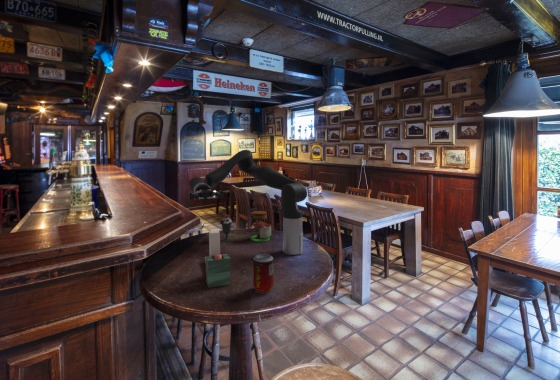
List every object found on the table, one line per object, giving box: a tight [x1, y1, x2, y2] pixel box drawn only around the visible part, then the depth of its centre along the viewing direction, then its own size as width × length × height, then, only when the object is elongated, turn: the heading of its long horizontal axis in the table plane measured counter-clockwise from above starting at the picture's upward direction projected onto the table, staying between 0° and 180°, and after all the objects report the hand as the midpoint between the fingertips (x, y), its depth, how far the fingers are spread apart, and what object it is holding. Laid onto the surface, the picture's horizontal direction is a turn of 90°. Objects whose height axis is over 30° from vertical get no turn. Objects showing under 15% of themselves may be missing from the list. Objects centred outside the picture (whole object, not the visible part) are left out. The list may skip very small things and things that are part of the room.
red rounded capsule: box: [214, 253, 222, 260], centre depth 109 cm, size 3×3×5 cm
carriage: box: [208, 229, 221, 256], centre depth 115 cm, size 6×5×17 cm
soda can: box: [252, 253, 274, 294], centre depth 105 cm, size 7×7×12 cm
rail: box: [204, 253, 232, 289], centre depth 119 cm, size 26×8×10 cm, turn 22°
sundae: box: [219, 212, 233, 243], centre depth 162 cm, size 7×7×15 cm
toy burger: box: [250, 210, 272, 243], centre depth 164 cm, size 12×13×15 cm
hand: (208, 196), depth 122 cm, fingers open, 8 cm apart
